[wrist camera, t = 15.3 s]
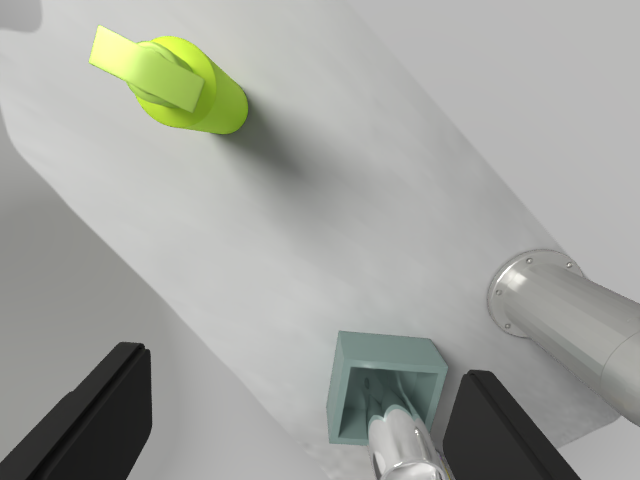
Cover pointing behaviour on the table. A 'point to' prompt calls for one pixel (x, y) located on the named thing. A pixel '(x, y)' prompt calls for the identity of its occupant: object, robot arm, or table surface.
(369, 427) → the beer glass
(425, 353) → the box
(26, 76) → the table surface
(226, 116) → the soap dispenser
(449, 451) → the robot arm
